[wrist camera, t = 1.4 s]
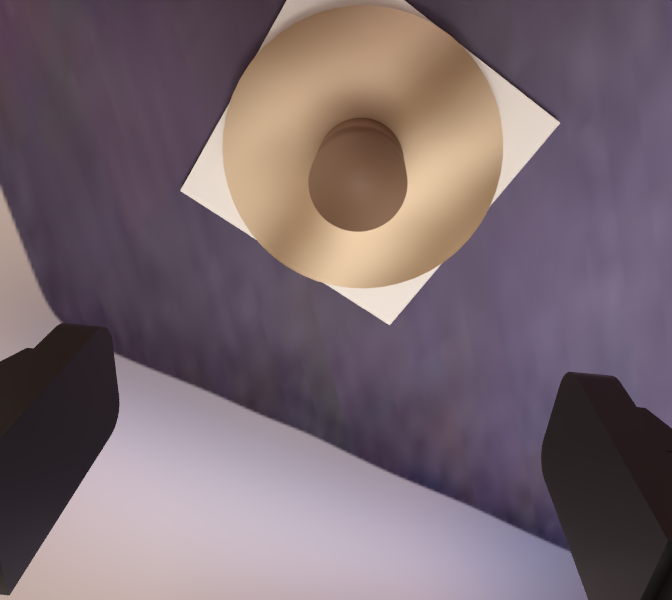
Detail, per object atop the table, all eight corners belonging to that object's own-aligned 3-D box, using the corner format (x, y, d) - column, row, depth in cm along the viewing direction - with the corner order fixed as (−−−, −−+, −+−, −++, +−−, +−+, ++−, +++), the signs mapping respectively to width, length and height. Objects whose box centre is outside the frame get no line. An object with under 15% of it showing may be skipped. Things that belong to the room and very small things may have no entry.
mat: (557, 121, 26) (560, 122, 26) (389, 320, 32) (389, 325, 31) (323, -63, 24) (322, -64, 23) (183, 188, 29) (180, 190, 29)
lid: (559, 122, 26) (596, 143, 22) (389, 325, 31) (391, 373, 27) (322, -64, 23) (310, -83, 19) (180, 190, 29) (145, 221, 24)
